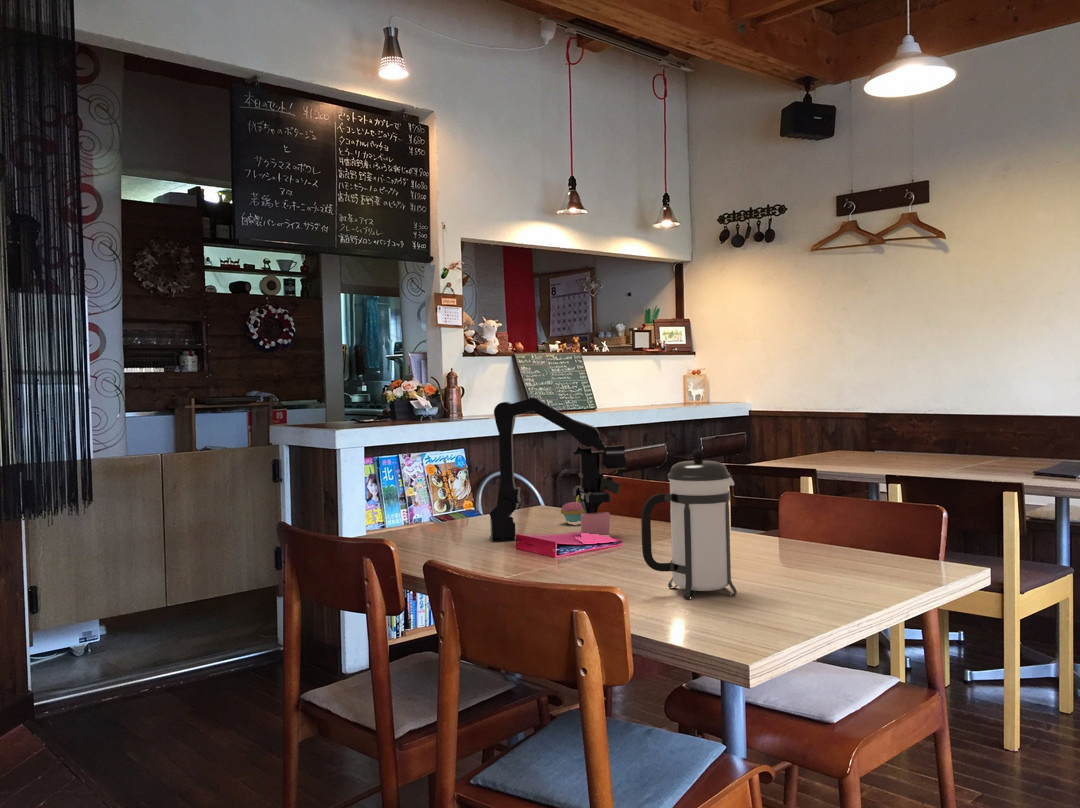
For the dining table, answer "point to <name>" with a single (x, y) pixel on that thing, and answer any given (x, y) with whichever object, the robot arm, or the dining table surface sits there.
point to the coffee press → (695, 526)
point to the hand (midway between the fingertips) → (592, 523)
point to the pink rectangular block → (595, 523)
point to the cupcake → (572, 511)
